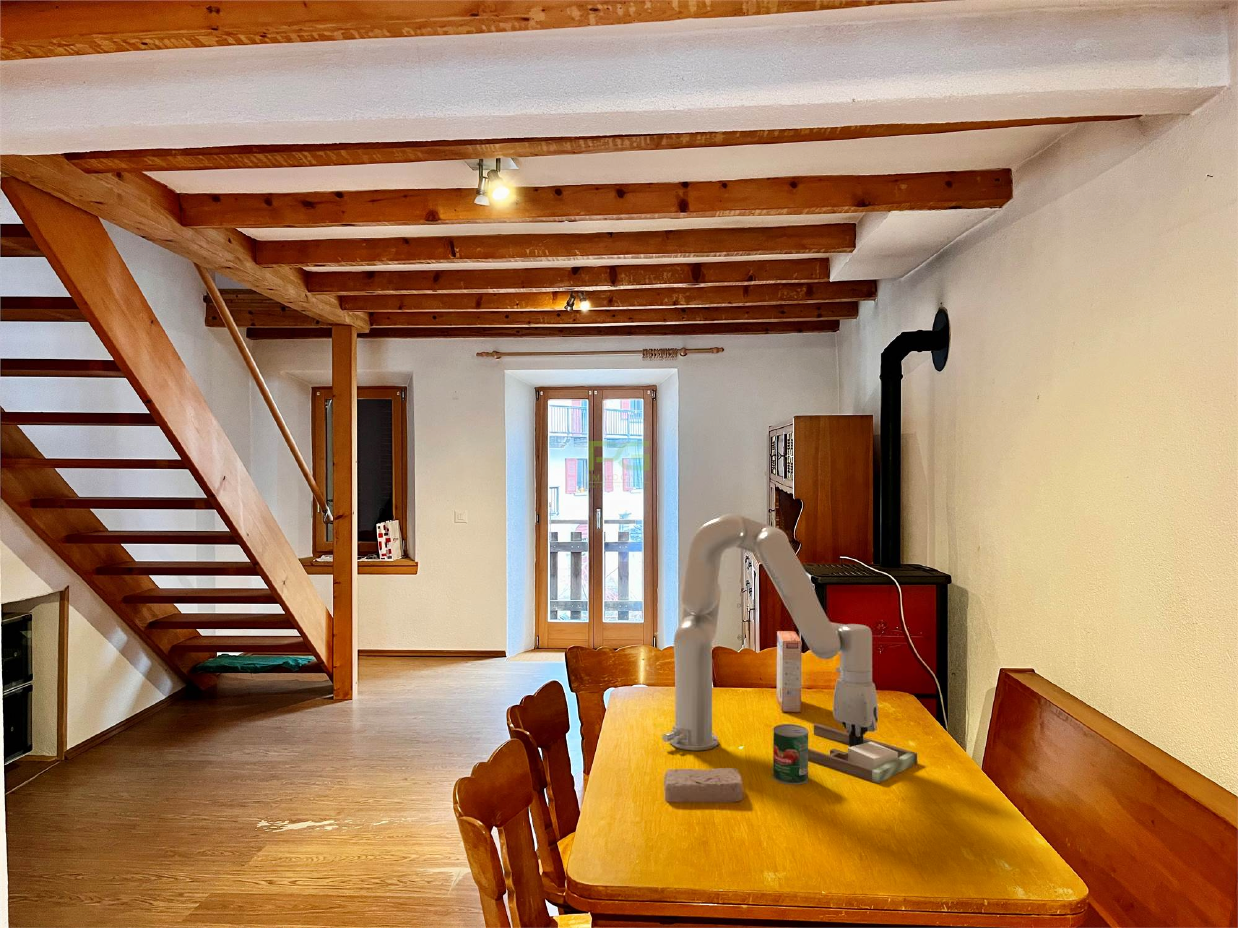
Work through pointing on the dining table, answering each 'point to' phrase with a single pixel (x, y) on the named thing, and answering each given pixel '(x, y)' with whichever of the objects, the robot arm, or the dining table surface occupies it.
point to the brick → (703, 785)
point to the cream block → (871, 755)
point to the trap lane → (841, 763)
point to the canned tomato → (790, 754)
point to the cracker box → (789, 671)
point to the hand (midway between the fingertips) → (856, 750)
